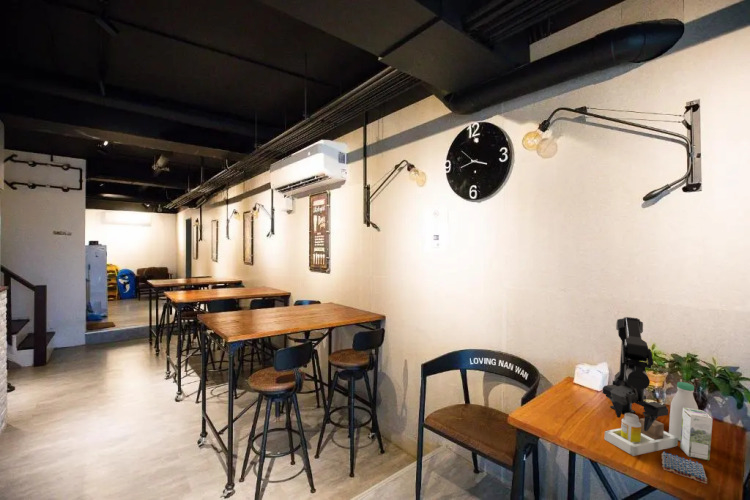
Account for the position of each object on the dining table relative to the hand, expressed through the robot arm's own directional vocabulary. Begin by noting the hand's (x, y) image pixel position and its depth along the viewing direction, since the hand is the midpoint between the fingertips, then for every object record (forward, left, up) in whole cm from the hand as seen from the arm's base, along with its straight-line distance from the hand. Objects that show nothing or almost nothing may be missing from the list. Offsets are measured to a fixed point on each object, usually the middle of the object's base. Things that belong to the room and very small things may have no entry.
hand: (631, 423), depth 121 cm
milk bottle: (-24, +2, -8) cm, 25 cm away
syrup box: (-16, +10, -8) cm, 20 cm away
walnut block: (-10, 0, -8) cm, 13 cm away
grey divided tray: (-5, 0, -7) cm, 9 cm away
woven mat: (-3, +14, -8) cm, 16 cm away
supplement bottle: (0, 0, -8) cm, 8 cm away
